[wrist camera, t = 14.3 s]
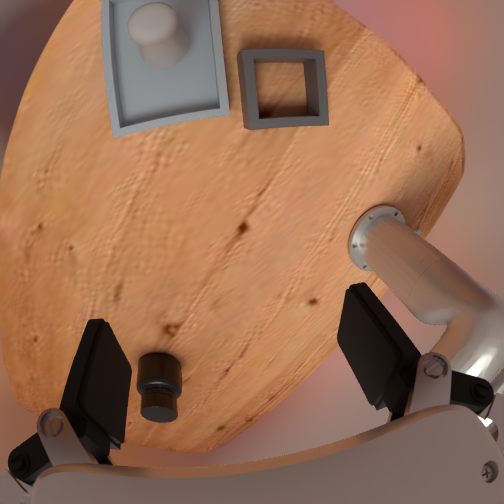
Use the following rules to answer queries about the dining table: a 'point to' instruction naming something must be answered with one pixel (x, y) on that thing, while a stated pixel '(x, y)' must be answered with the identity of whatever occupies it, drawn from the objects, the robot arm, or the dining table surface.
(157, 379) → the ink bottle
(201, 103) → the tray
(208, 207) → the dining table surface
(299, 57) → the holder
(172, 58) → the salt shaker
